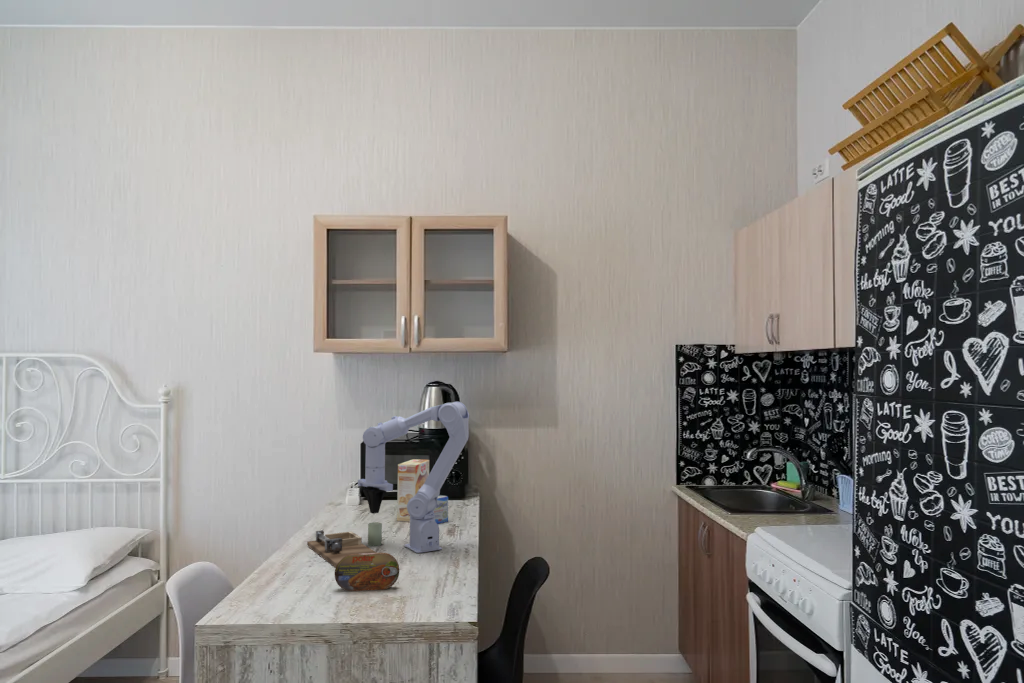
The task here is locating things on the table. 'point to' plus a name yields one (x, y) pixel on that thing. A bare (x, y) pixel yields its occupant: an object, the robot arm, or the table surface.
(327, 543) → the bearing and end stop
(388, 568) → the tin
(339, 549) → the steel shaft
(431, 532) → the robot arm
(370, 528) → the cylinder
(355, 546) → the walnut base with seat
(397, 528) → the table surface
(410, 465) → the coffeecake box
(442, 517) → the medicine box
